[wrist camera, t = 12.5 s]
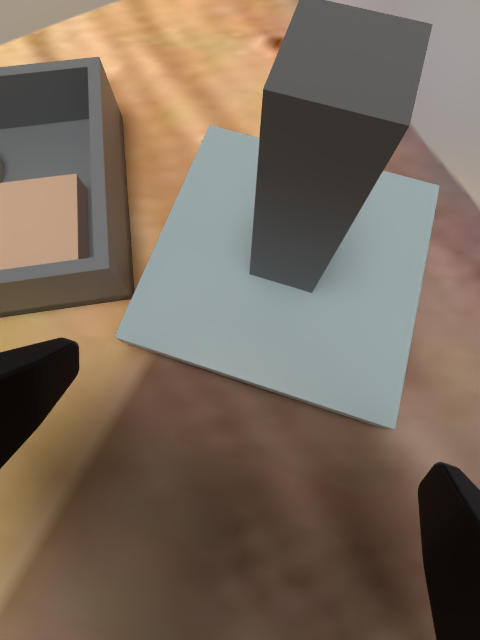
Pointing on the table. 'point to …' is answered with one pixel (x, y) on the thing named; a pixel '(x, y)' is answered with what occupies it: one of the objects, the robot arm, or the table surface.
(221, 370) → the slate lid
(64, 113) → the storage box
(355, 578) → the table surface
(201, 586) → the table surface
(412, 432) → the table surface
